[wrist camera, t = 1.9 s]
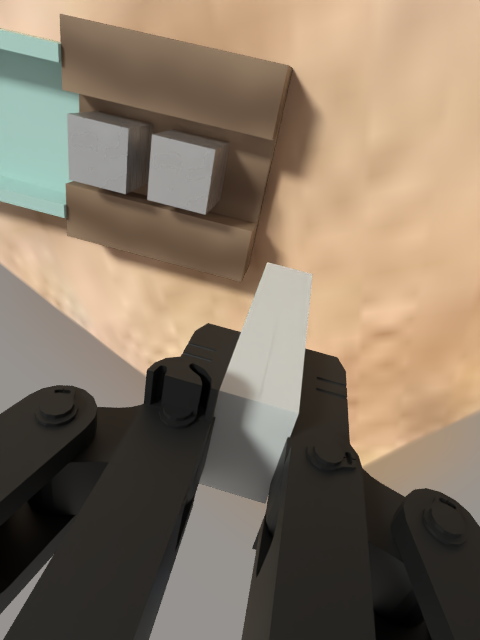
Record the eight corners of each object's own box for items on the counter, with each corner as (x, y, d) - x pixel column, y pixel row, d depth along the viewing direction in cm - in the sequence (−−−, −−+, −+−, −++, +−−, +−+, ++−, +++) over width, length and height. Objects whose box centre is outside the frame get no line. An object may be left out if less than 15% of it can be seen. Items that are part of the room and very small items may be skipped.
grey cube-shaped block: (99, 110, 28) (67, 113, 25) (153, 124, 28) (128, 128, 24) (98, 169, 30) (68, 179, 27) (149, 182, 30) (125, 194, 26)
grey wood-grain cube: (174, 129, 28) (151, 134, 24) (229, 142, 27) (215, 149, 24) (168, 187, 30) (147, 199, 26) (220, 200, 29) (205, 214, 26)
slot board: (86, 21, 26) (59, 13, 24) (292, 68, 25) (288, 65, 23) (87, 224, 34) (67, 235, 31) (248, 267, 33) (241, 282, 30)
